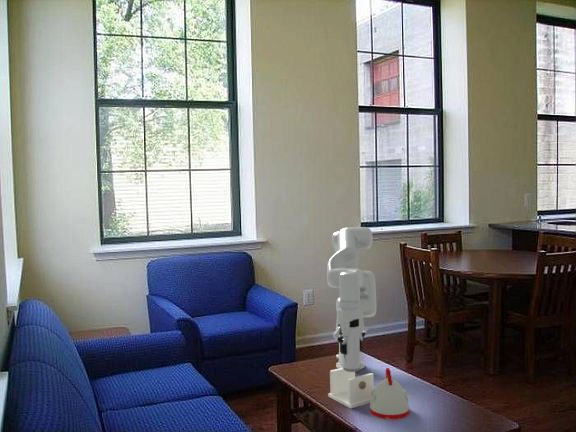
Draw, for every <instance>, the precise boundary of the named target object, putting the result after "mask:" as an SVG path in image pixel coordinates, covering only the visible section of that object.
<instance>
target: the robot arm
mask: <svg viewBox="0 0 576 432" xmlns="http://www.w3.org/2000/svg"><path fill="white" fill-rule="evenodd" d="M373 239H374V235H373V232H372V230H371V228H370V227H367V226H356V227H355V226H352V227H351V226H348V227H344V228H341V229H340V230H339V231H335V232H333V234H332V236H331V243H332V248H333V251H334V254H333V255H332V256H331V257H330V259H329V260H328V262H327V264H326V265H327V266H326V282H327V283H326V284H327V285H328V286H329V287H330V288H333V289H338V288H339V289H338V290H339V297H338V298H337V299H336V300H335V301H336V303H335V306H336V307H335V308H336V320H335V331H334V332H333V333H332V337H333V338H334V339H335V340H336V341H337V342H338V345H339V346H338V348H339V349H338V351H339V352H338V354H336V356H335V357H336V358H337V359H338V362H336V364H335V367H336V369H339V368H343V354H344V355H346V354H347V345H346V344H345V342H346V339H347V336H348V335H349V326H350V322H352V321H354V320H358V319H359V337H360V370H363V369H364V368H365V367H366V364H365V362H364V361H362V351H363V350H362V348H363V345H362V344H363V342H362V341H364V337H365V336H366V333H367V332H368V331H369V329H368V327H367V326H366V325H365V323H364V321H365V320H364V318H373V317H375V316H376V314H377V309H378V308H377V306H378V305H377V289H376V285H377V284H376V277H375V275H374V273H373V272H372V271H371V270H362V269H361V268H358V265H359V264H358V258H359V255H360V252H359V251H360V250H370V249H371V247H372V245H373V241H374V240H373ZM361 293H363V294H361ZM364 294H365V295H364ZM360 370H359V371H360Z"/></svg>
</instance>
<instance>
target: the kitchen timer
mask: <svg viewBox="0 0 576 432" xmlns="http://www.w3.org/2000/svg"><path fill="white" fill-rule="evenodd" d="M391 372H392V371H391V369H390V367H386V369H385V378H384V379H382V380H381V381H379V382H378V383H377V385H376V386H374V387H375V388H374V391H371V397H370V403H369V413H370V414H371V415H372V416H374V417H377V418H379V419H383V420H400V419H403V418H406V417H407V416H409V414H410V404H409V396H408V394H407V391H406V389H404V387H402V385H401V384H400V383H399V382H398V381H397V380H395V379H394V378H392V375H391Z"/></svg>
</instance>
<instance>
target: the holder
mask: <svg viewBox="0 0 576 432" xmlns="http://www.w3.org/2000/svg"><path fill="white" fill-rule="evenodd" d="M374 374H375V373H373V372H371V373H370V372H369V373H366V374H362V375H359V376H356V372H347V371H345V370H344V369H343V368H339V369H338V368H335V369H331V370H329V380H330V381H329V383H330V385H329V386H330V390H329V391H330V392H329V393H327V395H328V396H327V397H328V398H330V399H332V400H334V401H335V402H337V403H339V404H341V405H343V406H345V407H346V408H349V409H351V410H352V409H353V408H357V407H361V406H365V405H368V404H369V405H370V397H371V391H374V389H375V388H374V387H375V384H374V381H375V380H374V376H375V375H374Z"/></svg>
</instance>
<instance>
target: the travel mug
mask: <svg viewBox="0 0 576 432" xmlns="http://www.w3.org/2000/svg"><path fill="white" fill-rule="evenodd" d="M345 344H346V345H347V354H346V355H344V354H343V369H344V370H345V371H347V372H355V373H356V372H359V371H360V337H359V319H358V320H354V321H352V322H350V326H349V335H348V336H347V339H346V342H345Z"/></svg>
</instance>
